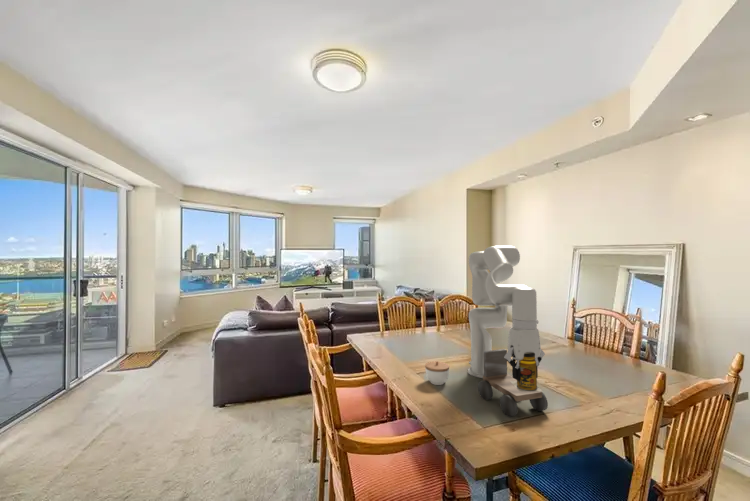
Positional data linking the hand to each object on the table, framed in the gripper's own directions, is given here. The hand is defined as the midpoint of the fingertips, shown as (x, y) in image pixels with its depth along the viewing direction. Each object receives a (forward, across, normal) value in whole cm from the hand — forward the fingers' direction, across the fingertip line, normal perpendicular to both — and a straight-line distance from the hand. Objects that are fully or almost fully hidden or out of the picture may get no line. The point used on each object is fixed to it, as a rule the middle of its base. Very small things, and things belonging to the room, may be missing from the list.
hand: (525, 377), depth 112 cm
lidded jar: (+17, +10, -44) cm, 48 cm away
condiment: (+3, 0, 0) cm, 3 cm away
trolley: (+17, -6, -16) cm, 24 cm away
